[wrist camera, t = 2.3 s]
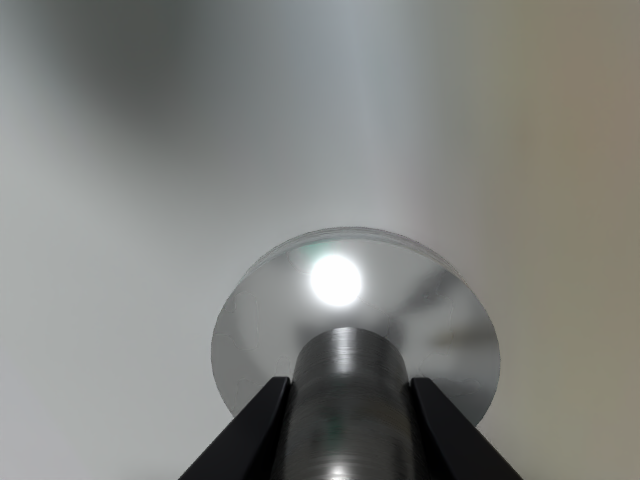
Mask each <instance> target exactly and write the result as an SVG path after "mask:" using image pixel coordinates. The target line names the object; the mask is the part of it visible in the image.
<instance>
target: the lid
mask: <svg viewBox="0 0 640 480" xmlns="http://www.w3.org/2000/svg"><path fill="white" fill-rule="evenodd" d="M211 362H212V369H213V375H214V378H215V382H216V385H217V388H218V390H219V392H220V395H221V397H222V399H223V401H224V403H225V404H226V406H227V407H228V409H229V411H230V412H231V414H232V415H233V416H234V417H236V416H237V415H238V414H239V413H240V411H241V410H242V409H243V408H244V407H245V406H246V405H247V404H248V403H249V402H250V401H251V399H252V398H253V397H254V396H255V395H256V394H257V393H258V392H259V391H260V390H261V389H262V387H263V386H264V385H265V384H266V383H267V382H268V381H269V380H270V379H271V378H272V377H274V376H287V377H289V378H290V381H291V387H290V391H289V396H288V400H287V405H286V409H285V414H284V418H283V423H282V427H281V431H280V436H279V440H278V445H277V449H276V454H275V458H274V463H273V467H272V472H271V476H270V480H431V476H430V471H429V467H428V463H427V458H426V454H425V449H424V445H423V441H422V436H421V432H420V428H419V423H418V419H417V414H416V410H415V406H414V401H413V397H412V392H411V388H410V381H411V378H413V377H428V378H430V379H431V380H432V381H433V382H434V383H435V384H436V385H437V386H438V387H439V389H440V390H441V391H442V392H443V393H444V394H445V395H446V396H447V397H448V398H449V399H450V400H451V402H452V403H453V404H454V405H455V406H456V407H457V408H458V409H459V410H460V411H461V412H462V413H463V415H464V416H465V417H466V418H467V419H468V420H469V421H470V422H471V423H472V424H473V425H474V426H475V427H476V425H477V424H478V423H479V422H480V421H481V419H482V418H483V416H484V415H485V413H486V411H487V410H488V408H489V406H490V404H491V402H492V399H493V397H494V395H495V392H496V389H497V384H498V380H499V376H500V351H499V343H498V340H497V336H496V333H495V329H494V326H493V324H492V322H491V320H490V318H489V316H488V314H487V312H486V310H485V309H484V307H483V306H482V304H481V303H480V302H479V300H478V299H477V297H476V296H475V294H474V293H473V292H472V290H471V289H470V288H469V286H468V285H467V283H466V282H465V281H464V279H463V278H462V276H461V275H460V274H459V273H458V272H457V271H456V270H455V269H454V268H453V267H452V266H451V265H450V264H449V263H448V262H447V261H446V260H444V259H443V258H442V257H441V256H439V255H438V254H437V253H435V252H434V251H432V250H431V249H429V248H427V247H425V246H424V245H422V244H420V243H419V242H416V241H414V240H411V239H409V238H407V237H404V236H402V235H399V234H395V233H391V232H388V231H384V230H379V229H372V228H365V227H338V228H328V229H322V230H318V231H314V232H309V233H306V234H303V235H300V236H298V237H295V238H292V239H290V240H288V241H286V242H284V243H282V244H280V245H279V246H277V247H275V248H273V249H272V250H271V251H269V252H268V253H266V254H265V255H264V256H262V257H261V258H260V259H259V260H258V261H257V262H256V263H255V264H254V265H253V266H252V267H251V268H250V269H249V270H248V271H247V272H246V274H245V275H244V276H243V278H242V279H241V280H240V282H239V283H238V285H237V286H236V288H235V289H234V290H233V292H232V293H231V295H230V296H229V298H228V299H227V301H226V303H225V304H224V306H223V308H222V310H221V312H220V314H219V316H218V319H217V322H216V325H215V328H214V331H213V337H212V343H211Z"/></svg>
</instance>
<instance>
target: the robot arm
mask: <svg viewBox="0 0 640 480" xmlns="http://www.w3.org/2000/svg"><path fill="white" fill-rule="evenodd" d="M290 387H291V381H290V378H289V377H287V376H274V377H272V378H271V379H270V380H269V381H268V382H267V383H266V384H265V385H264V386H263V387H262V389H261V390H260V391H259V392H258V393H257V394H256V395H255V396H254V397H253V398H252V399H251V401H250V402H249V403H248V404H247V405H246V406H245V407H244V408H243V409H242V410H241V411H240V413H239V414H238V415H237V416H236V417H235V418H234V419H233V420H232V421H231V422H230V423H229V424H228V426H227V427H226V428H225V429H224V430H223V431H222V432H221V433H220V434H219V435H218V436H217V438H216V439H215V440H214V441H213V442H212V443H211V444H210V445H209V446H208V447H207V448H206V450H205V451H204V452H203V453H202V454H201V455H200V456H199V457H198V458H197V459H196V460H195V462H194V463H193V464H192V465H191V466H190V467H189V468H188V469H187V470H186V471H185V472H184V474H183V475H182V476H181V477H180V478H179V479H178V480H270V476H271V472H272V467H273V463H274V458H275V454H276V449H277V445H278V440H279V436H280V431H281V427H282V423H283V418H284V414H285V409H286V405H287V400H288V396H289V391H290ZM410 388H411V392H412V397H413V401H414V406H415V410H416V414H417V419H418V423H419V428H420V432H421V436H422V441H423V445H424V449H425V454H426V458H427V463H428V467H429V471H430V476H431V480H523V479H522V477H521V476H520V475H519V474H518V473H517V472H516V471H515V470H514V469H513V468H512V467H511V466H510V464H509V463H508V462H507V461H506V460H505V459H504V458H503V457H502V456H501V455H500V454H499V452H498V451H497V450H496V449H495V448H494V447H493V446H492V445H491V444H490V443H489V442H488V441H487V439H486V438H485V437H484V436H483V435H482V434H481V433H480V432H479V431H478V430H477V429H476V428H475V426H474V425H473V424H472V423H471V422H470V421H469V420H468V419H467V418H466V417H465V416H464V415H463V413H462V412H461V411H460V410H459V409H458V408H457V407H456V406H455V405H454V404H453V403H452V402H451V400H450V399H449V398H448V397H447V396H446V395H445V394H444V393H443V392H442V391H441V390H440V389H439V387H438V386H437V385H436V384H435V383H434V382H433V381H432V380H431V379H430V378H428V377H413V378H411V381H410Z"/></svg>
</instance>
